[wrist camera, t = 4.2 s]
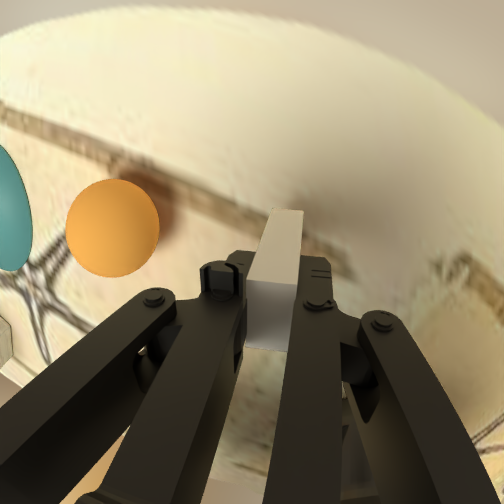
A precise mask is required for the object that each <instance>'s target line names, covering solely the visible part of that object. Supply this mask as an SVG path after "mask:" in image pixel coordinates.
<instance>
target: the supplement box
mask: <svg viewBox="0 0 504 504" xmlns="http://www.w3.org/2000/svg"><path fill="white" fill-rule="evenodd" d="M12 356H13V351H12V342H11V330H10V325H9V324H8V323H7V322H6V321H5V320H4V319H3V318H1V317H0V369H1V368H2V367H3V365H4V364H5V363H6V362H7V361H8V360H9V359H10V358H11V357H12Z"/></svg>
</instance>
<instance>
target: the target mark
mask: <svg viewBox="0 0 504 504" xmlns="http://www.w3.org/2000/svg"><path fill="white" fill-rule="evenodd" d="M31 245H32V220H31V213H30V207H29V203H28V198H27V195H26V191H25V188H24V185H23V182H22V179H21V177H20V175H19V172H18V170H17V168H16V166H15V164H14V162H13V161H12V159H11V158H10V156H9V155H8V153H7V152H6V151H5V150H4V149H3V148H2V147H1V146H0V268H1V269H3V270H6V271H15V270H17V269H19V268H20V267H22V266H23V265H24V264H25V262H26V261H27V259H28V257H29V254H30V250H31Z"/></svg>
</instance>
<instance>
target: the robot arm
mask: <svg viewBox="0 0 504 504" xmlns="http://www.w3.org/2000/svg"><path fill="white" fill-rule="evenodd" d="M303 213H304V211H301V210H289V209H277V208H272V210H271V213H270V216H269V218H268V221H267V224H266V227H265V229H264V232H263V235H262V238H261V240H260V243H259V246H258V249H257V251H256V252H251V251H241V250H236V251H235V252H233V253H232V254H230V255H229V256H228V258H227V260H226V261H213V262H209V263H207V264H205V265H203V266H202V267H201V268H200V281H201V293H200V295H199V297H198V298H195V299H189V300H175V295H174V294H173V292H172V291H170V290H168V289H165V288H150V289H147V290H144V291H142V292H140V293H138V294H137V295H136V296H135V297H133V298H132V299H131V300H129V301H128V302H127V303H126V304H124V305H123V306H122V307H121V308H119V309H118V310H117V311H116V312H114V313H113V314H112V315H111V316H109V317H108V318H107V319H106V320H104V321H103V322H102V323H101V324H99V325H98V326H97V327H96V328H94V329H93V330H92V331H91V332H89V333H88V334H87V335H86V336H84V337H83V338H82V339H81V340H80V341H78V342H77V343H76V344H75V345H74V346H72V347H71V348H70V349H69V350H67V351H66V352H65V353H64V354H63V355H61V356H60V357H59V358H58V359H57V360H55V361H54V362H53V363H52V364H51V365H49V366H48V367H47V368H46V369H45V370H44V371H42V372H41V373H40V374H39V375H38V376H36V377H35V378H34V379H33V380H32V381H31V382H29V383H28V384H27V385H26V386H25V387H24V388H22V389H21V390H20V391H19V392H18V393H17V394H16V395H14V396H13V397H12V398H11V399H10V400H9V401H8V402H6V403H5V404H4V405H3V406H2V407H1V408H0V504H59V503H60V502H61V501H62V500H63V499H64V498H65V497H66V496H67V495H68V493H69V492H70V491H71V490H72V489H73V488H74V487H75V486H76V485H77V484H78V483H79V482H80V480H81V479H82V478H83V477H84V476H85V475H86V474H87V473H88V472H89V471H90V469H91V468H92V467H93V466H94V465H95V464H96V463H97V462H98V460H99V459H100V458H101V457H102V456H103V455H104V454H105V453H106V452H107V451H108V449H109V448H110V447H111V446H112V445H113V444H114V443H115V441H116V440H117V439H118V438H119V437H120V436H121V435H122V434H123V433H124V431H125V430H126V429H127V428H128V427H129V426H130V427H129V429H128V431H127V433H126V435H125V437H124V439H123V441H122V443H121V445H120V447H119V449H118V451H117V453H116V455H115V457H114V459H113V461H112V463H111V465H110V467H109V469H108V471H107V473H106V475H105V477H104V479H103V481H102V483H101V485H100V486H99V488H98V489H97V490H95V491H94V492H90V493H86V494H83V495H82V496H81V497H80V498H78V500H77V501H76V502H75V504H200V503H201V499H202V496H203V493H204V490H205V486H206V483H207V479H208V476H209V473H210V470H211V466H212V463H213V460H214V456H215V453H216V450H217V446H218V443H219V440H220V436H221V433H222V429H223V426H224V422H225V419H226V416H227V412H228V409H229V405H230V402H231V398H232V395H233V391H234V388H235V384H236V381H237V377H238V374H239V370H240V366H241V363H242V359H243V345H244V342H245V338H246V347H249V348H257V349H265V350H273V351H282V352H287V359H286V367H285V374H284V380H283V387H282V394H281V400H280V407H279V413H278V419H277V425H276V432H275V437H274V443H273V449H272V455H271V460H270V466H269V471H268V477H267V482H266V487H265V492H264V497H263V502H262V504H501V503H500V500H499V498H498V496H497V493H496V491H495V489H494V486H493V484H492V482H491V480H490V478H489V475H488V473H487V471H486V469H485V467H484V465H483V463H482V461H481V459H480V457H479V455H478V453H477V451H476V449H475V447H474V445H473V443H472V441H471V439H470V437H469V435H468V433H467V431H466V429H465V427H464V425H463V423H462V422H461V420H460V418H459V416H458V414H457V412H456V411H455V409H454V407H453V405H452V403H451V402H450V400H449V398H448V396H447V394H446V393H445V391H444V389H443V388H442V386H441V384H440V382H439V381H438V379H437V377H436V376H435V374H434V372H433V371H432V369H431V367H430V366H429V364H428V362H427V361H426V359H425V357H424V356H423V354H422V352H421V351H420V349H419V348H418V346H417V344H416V343H415V341H414V340H413V338H412V337H411V335H410V333H409V332H408V330H407V329H406V327H405V326H404V324H403V323H402V321H401V320H400V319H399V318H398V317H397V316H395V315H393V314H391V313H389V312H386V311H381V310H373V311H369V312H367V313H365V314H364V315H363V316H362V318H361V319H358V318H355V317H351V316H349V315H346V314H344V313H343V312H341V311H340V310H339V309H338V307H337V304H336V301H335V300H333V288H332V276H331V264H330V263H329V262H328V261H327V260H326V258H324V257H314V256H303V255H300V250H301V238H302V226H303ZM143 347H144V349H143V350H142V351H141V352H139V351H140V350H141V349H142V348H143ZM138 352H139V353H138ZM342 381H343V386H344V389H345V392H346V395H347V398H348V399H345V400H342Z"/></svg>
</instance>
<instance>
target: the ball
mask: <svg viewBox="0 0 504 504" xmlns="http://www.w3.org/2000/svg"><path fill="white" fill-rule="evenodd" d="M159 230H160V228H159V217H158V213H157V210H156V208H155V205H154V204H153V202H152V200H151V199H150V197H149V196H148V195H147V194H146V193H145V192H144V191H143V190H142V189H141V188H139V187H138V186H136V185H135V184H133V183H130V182H128V181H124V180H119V179H108V180H102V181H99V182H96V183H94V184H92V185H90V186H88V187H87V188H86V189H84V190H83V191H82V192H81V193H80V194H79V195H78V196H77V197H76V199H75V200H74V202H73V203H72V205H71V207H70V209H69V212H68V215H67V220H66V239H67V243H68V246H69V249H70V251H71V253H72V255H73V256H74V258H75V259H76V260H77V262H78V263H79V264H80V265H81V266H82V267H84V268H85V269H86V270H88V271H89V272H91V273H93V274H96V275H98V276H102V277H110V278H113V277H121V276H125V275H128V274H130V273H133V272H134V271H136V270H138V269H139V268H140V267H141V266H143V265H144V264H145V263H146V262H147V260H148V259H149V258H150V257H151V255H152V253H153V252H154V250H155V248H156V245H157V242H158V237H159Z"/></svg>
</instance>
